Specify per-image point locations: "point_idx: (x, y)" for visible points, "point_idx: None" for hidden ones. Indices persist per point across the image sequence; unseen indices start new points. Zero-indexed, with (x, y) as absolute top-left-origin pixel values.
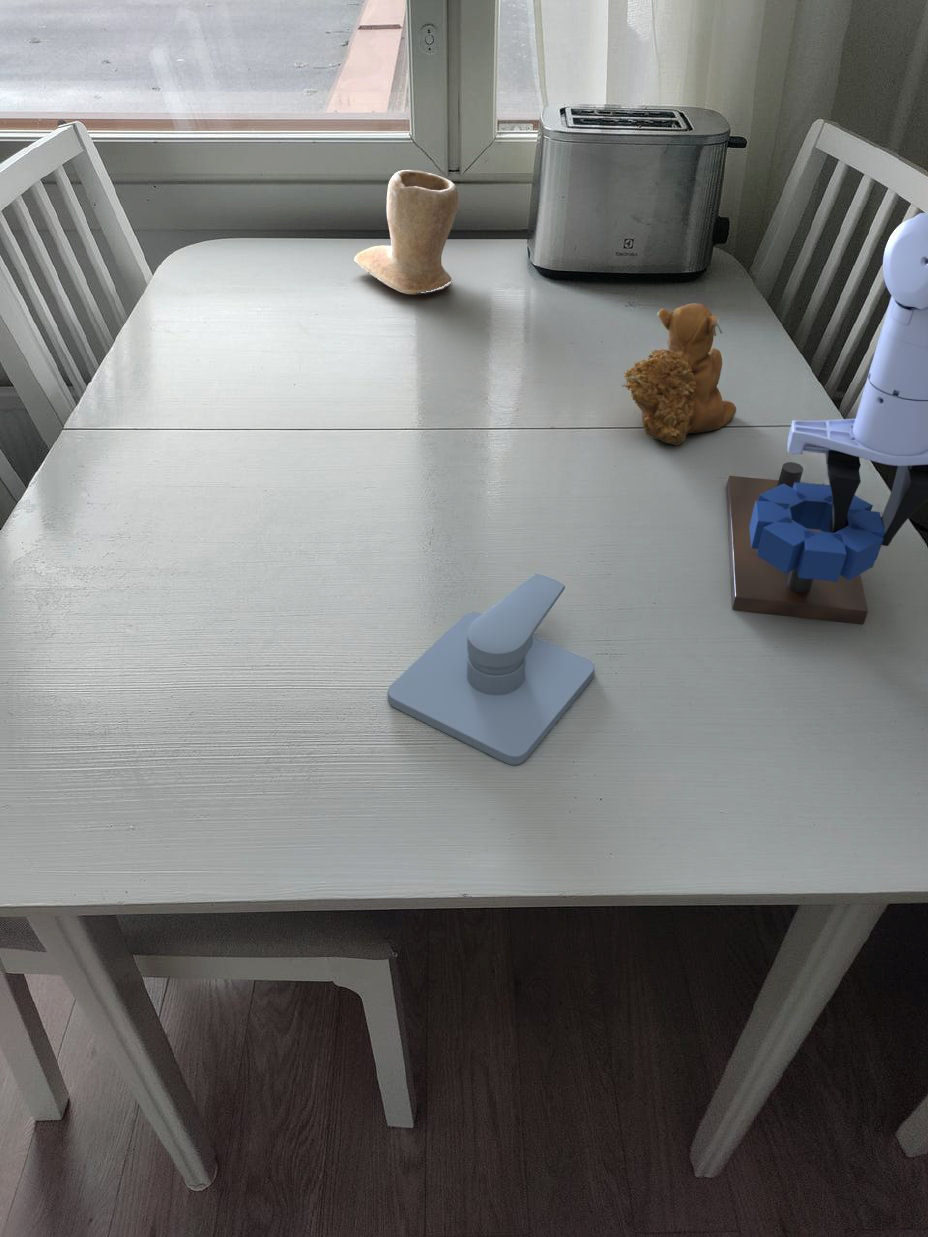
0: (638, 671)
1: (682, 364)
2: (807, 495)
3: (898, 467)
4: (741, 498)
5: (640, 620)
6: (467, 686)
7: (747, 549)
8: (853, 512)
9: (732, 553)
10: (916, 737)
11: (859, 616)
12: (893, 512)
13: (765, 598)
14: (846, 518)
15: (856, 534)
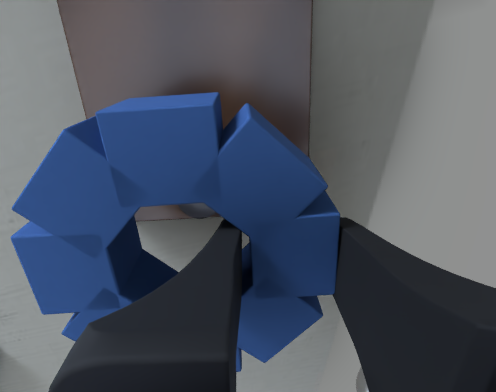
0: (41, 332)
1: None
2: (144, 180)
3: (425, 311)
4: None
5: (8, 257)
6: None
7: (106, 86)
8: (269, 234)
9: (83, 101)
10: (328, 351)
11: None
12: (357, 332)
13: (156, 218)
14: (238, 327)
15: (267, 315)
